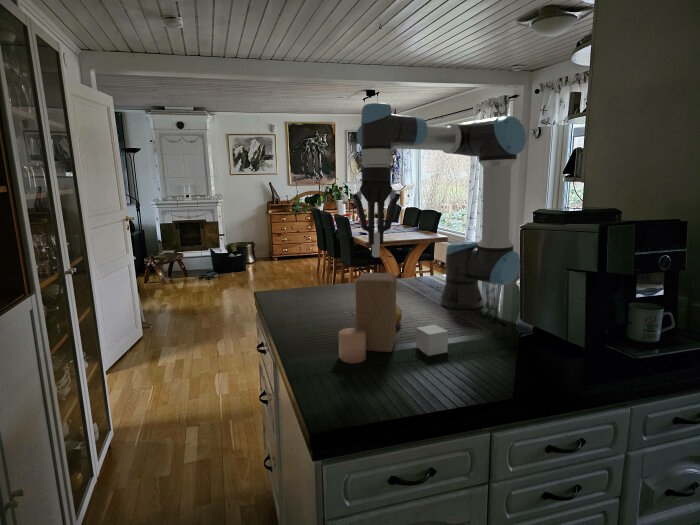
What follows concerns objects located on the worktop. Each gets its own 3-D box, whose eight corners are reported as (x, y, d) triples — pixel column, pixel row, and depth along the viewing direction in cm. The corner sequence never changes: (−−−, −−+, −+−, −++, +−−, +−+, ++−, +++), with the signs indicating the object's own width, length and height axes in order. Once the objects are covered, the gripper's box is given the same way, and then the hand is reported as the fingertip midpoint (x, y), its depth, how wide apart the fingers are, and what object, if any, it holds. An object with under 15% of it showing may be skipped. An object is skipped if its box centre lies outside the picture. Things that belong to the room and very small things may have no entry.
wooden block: (392, 353, 115) (392, 280, 112) (355, 351, 117) (354, 279, 114) (395, 340, 125) (396, 272, 121) (361, 338, 127) (361, 271, 123)
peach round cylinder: (363, 351, 117) (362, 327, 116) (368, 362, 110) (368, 336, 109) (337, 353, 116) (337, 328, 115) (341, 364, 109) (340, 338, 108)
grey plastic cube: (434, 344, 121) (434, 324, 120) (447, 352, 116) (448, 331, 115) (416, 348, 119) (416, 327, 118) (428, 356, 114) (429, 334, 112)
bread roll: (379, 316, 147) (379, 293, 146) (407, 319, 144) (407, 296, 142) (367, 328, 136) (367, 303, 134) (397, 331, 132) (397, 306, 131)
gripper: (396, 167, 117) (395, 253, 121) (349, 167, 115) (349, 254, 119) (404, 166, 109) (403, 257, 114) (353, 166, 107) (354, 259, 112)
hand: (375, 256), depth 116 cm, fingers closed
